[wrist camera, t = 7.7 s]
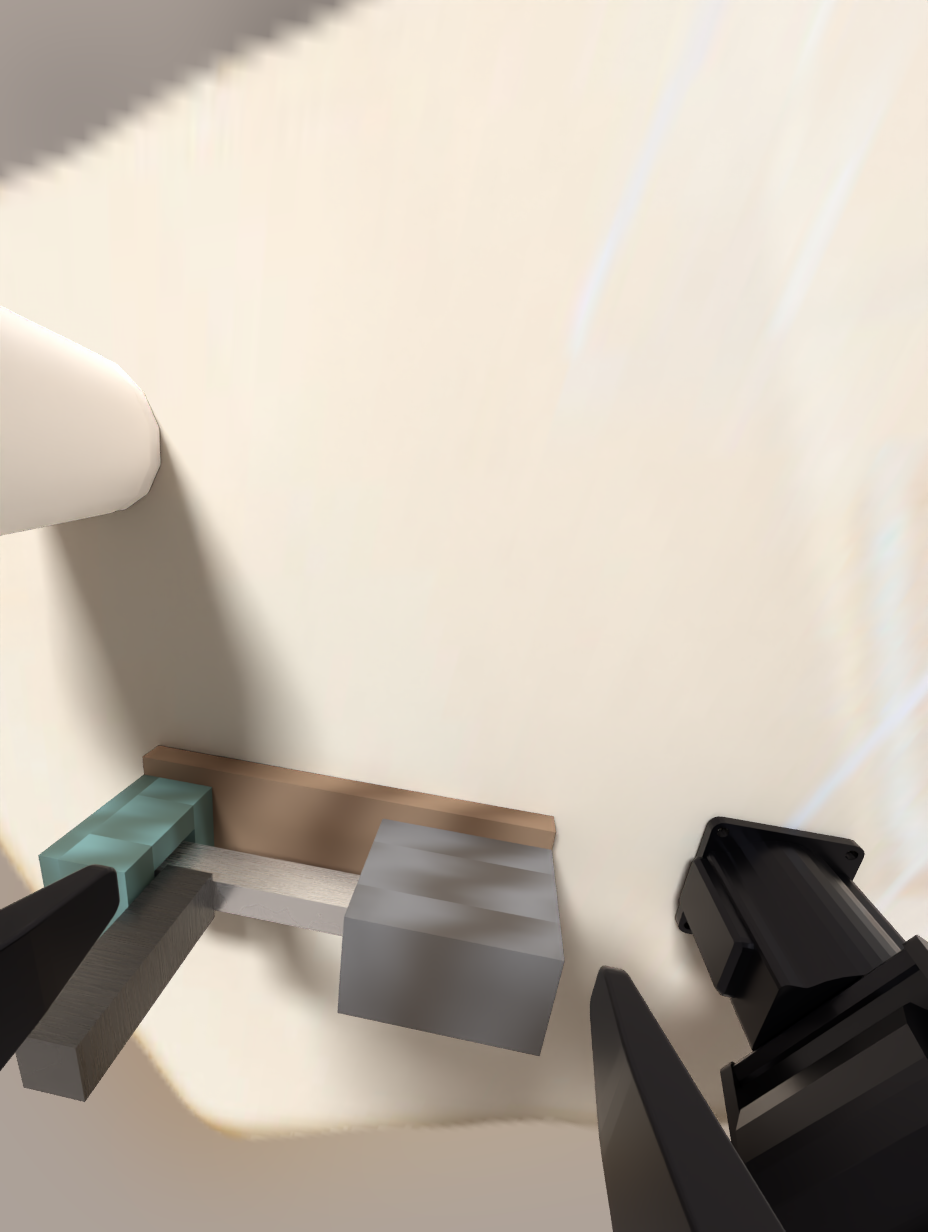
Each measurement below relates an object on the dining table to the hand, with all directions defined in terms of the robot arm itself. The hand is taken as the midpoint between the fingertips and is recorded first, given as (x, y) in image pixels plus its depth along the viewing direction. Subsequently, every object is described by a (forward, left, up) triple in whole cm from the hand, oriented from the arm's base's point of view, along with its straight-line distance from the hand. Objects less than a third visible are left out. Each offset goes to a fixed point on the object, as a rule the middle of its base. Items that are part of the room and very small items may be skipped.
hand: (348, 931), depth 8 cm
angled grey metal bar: (+7, +10, -9) cm, 15 cm away
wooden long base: (+4, +10, -12) cm, 16 cm away
